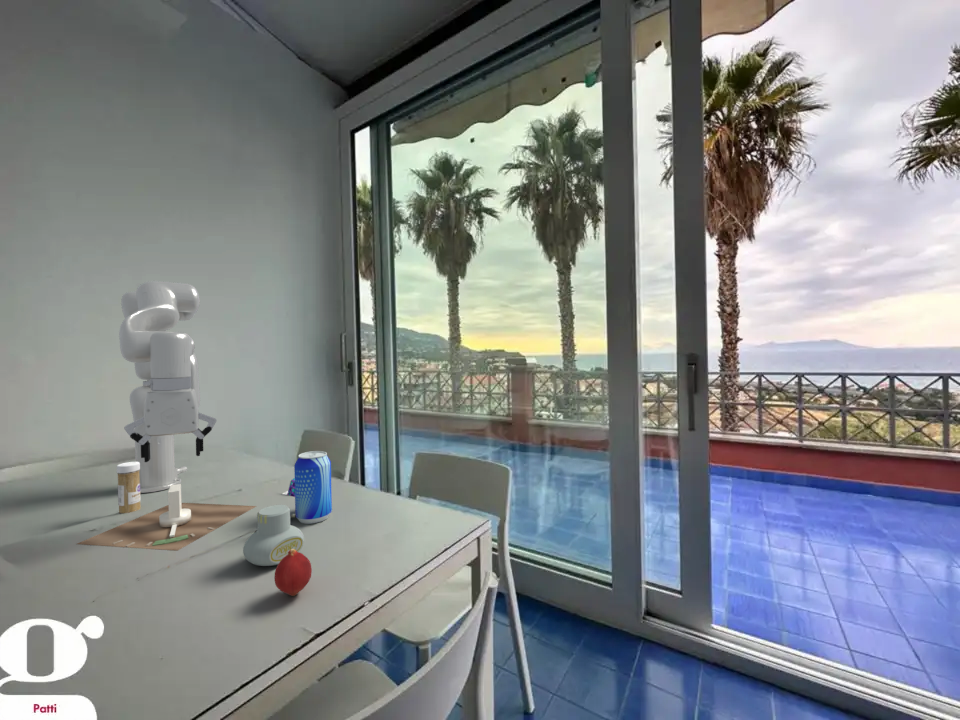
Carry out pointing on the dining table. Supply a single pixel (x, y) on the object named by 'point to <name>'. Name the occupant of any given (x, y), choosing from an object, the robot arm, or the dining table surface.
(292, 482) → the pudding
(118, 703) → the dining table surface
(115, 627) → the dining table surface
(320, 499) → the beer can
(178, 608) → the dining table surface
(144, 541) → the dial board
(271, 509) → the air freshener
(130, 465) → the sprinkles bottle
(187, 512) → the tuning knob
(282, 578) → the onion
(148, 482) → the robot arm
